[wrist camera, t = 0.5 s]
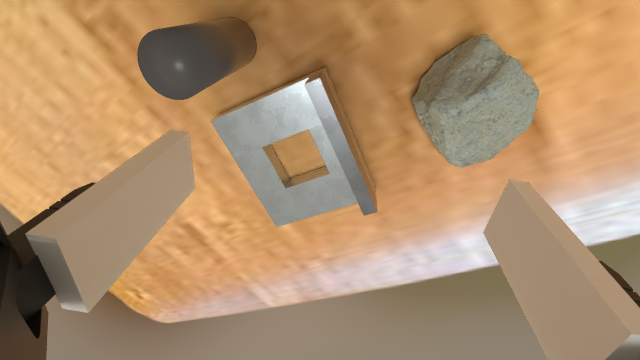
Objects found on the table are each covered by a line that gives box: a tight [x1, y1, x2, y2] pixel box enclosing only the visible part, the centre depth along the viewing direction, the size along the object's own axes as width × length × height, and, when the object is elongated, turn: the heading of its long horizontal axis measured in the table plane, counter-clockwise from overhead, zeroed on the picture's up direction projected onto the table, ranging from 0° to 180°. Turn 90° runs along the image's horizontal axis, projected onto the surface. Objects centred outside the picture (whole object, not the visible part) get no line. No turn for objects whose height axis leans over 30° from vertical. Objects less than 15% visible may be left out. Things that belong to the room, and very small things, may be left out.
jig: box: [211, 66, 377, 227], centre depth 37 cm, size 16×14×6 cm
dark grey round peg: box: [138, 18, 257, 100], centre depth 28 cm, size 5×5×13 cm
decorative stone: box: [412, 34, 539, 167], centre depth 31 cm, size 13×11×10 cm
